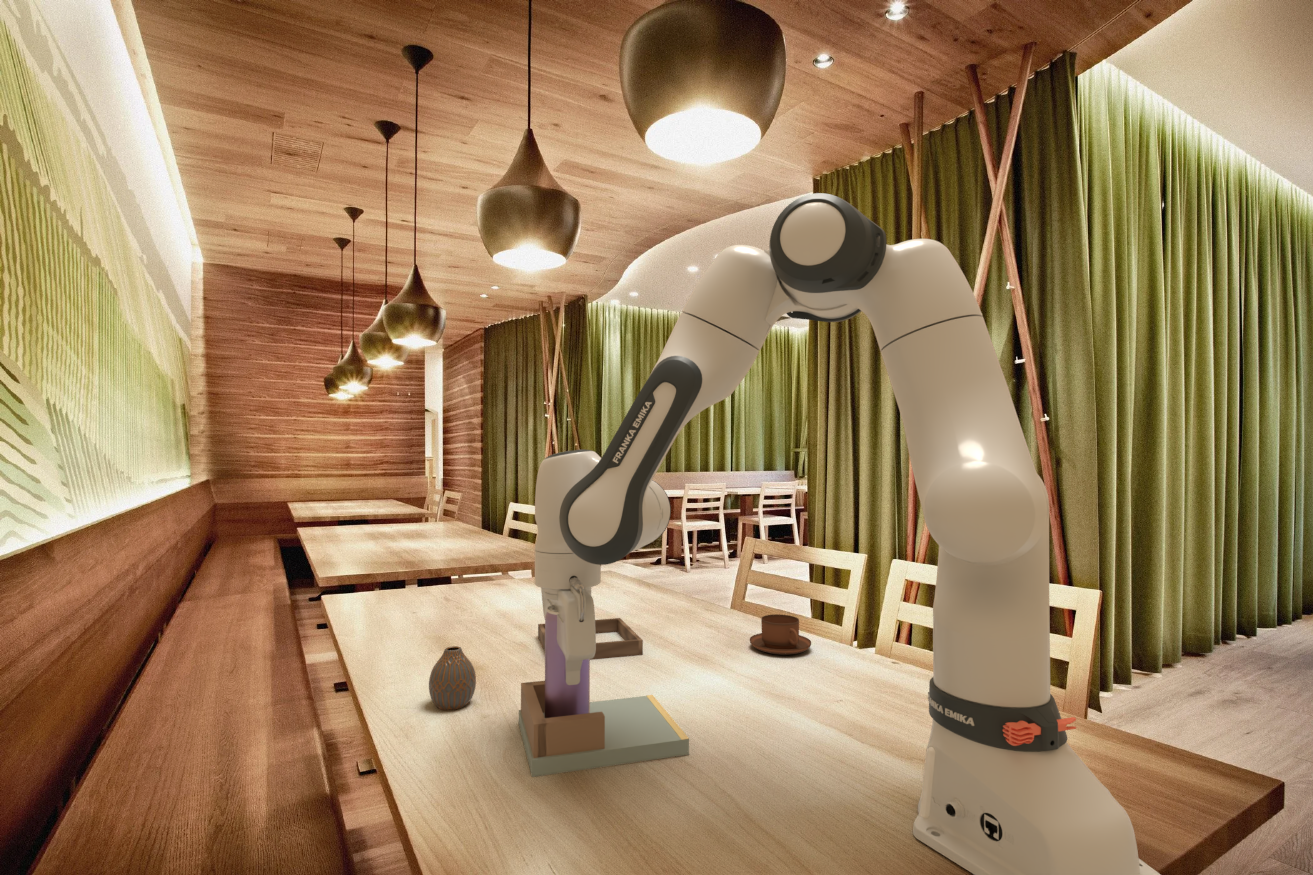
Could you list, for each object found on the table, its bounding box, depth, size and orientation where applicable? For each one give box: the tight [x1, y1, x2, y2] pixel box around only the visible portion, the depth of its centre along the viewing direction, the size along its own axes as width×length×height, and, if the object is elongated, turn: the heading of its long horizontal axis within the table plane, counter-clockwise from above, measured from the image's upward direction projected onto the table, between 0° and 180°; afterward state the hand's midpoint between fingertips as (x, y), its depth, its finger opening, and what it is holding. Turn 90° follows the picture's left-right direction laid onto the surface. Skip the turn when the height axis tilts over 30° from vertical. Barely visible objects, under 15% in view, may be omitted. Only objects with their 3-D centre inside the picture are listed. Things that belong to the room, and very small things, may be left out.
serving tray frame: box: [537, 617, 644, 661], centre depth 131 cm, size 18×18×3 cm
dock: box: [518, 680, 690, 778], centre depth 89 cm, size 16×20×6 cm
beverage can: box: [544, 605, 591, 718], centre depth 88 cm, size 6×6×15 cm
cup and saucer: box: [749, 613, 812, 656], centre depth 130 cm, size 12×12×6 cm
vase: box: [428, 645, 477, 711], centre depth 101 cm, size 7×7×9 cm
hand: (567, 674), depth 88 cm, fingers closed on beverage can, 5 cm apart
